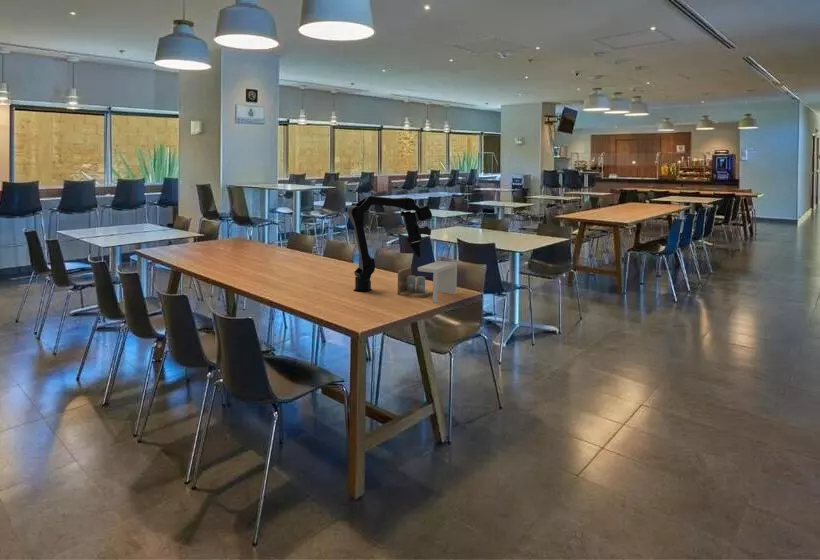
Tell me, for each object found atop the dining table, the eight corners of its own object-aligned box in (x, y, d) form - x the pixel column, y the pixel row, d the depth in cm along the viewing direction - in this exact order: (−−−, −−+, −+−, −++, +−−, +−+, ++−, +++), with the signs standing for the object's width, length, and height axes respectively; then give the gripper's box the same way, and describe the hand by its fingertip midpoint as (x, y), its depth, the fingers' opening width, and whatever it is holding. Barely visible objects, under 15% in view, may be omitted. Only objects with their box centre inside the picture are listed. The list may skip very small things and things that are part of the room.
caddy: (397, 294, 272) (397, 270, 270) (408, 290, 281) (408, 267, 279) (423, 298, 266) (423, 273, 264) (433, 293, 275) (433, 270, 272)
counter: (417, 300, 261) (417, 267, 258) (438, 291, 279) (439, 260, 276) (435, 302, 257) (436, 269, 254) (456, 293, 275) (457, 262, 272)
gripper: (427, 219, 273) (436, 252, 274) (428, 220, 291) (435, 251, 292) (404, 225, 273) (412, 258, 274) (405, 225, 292) (413, 257, 293)
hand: (419, 256), depth 283 cm, fingers open, 9 cm apart
